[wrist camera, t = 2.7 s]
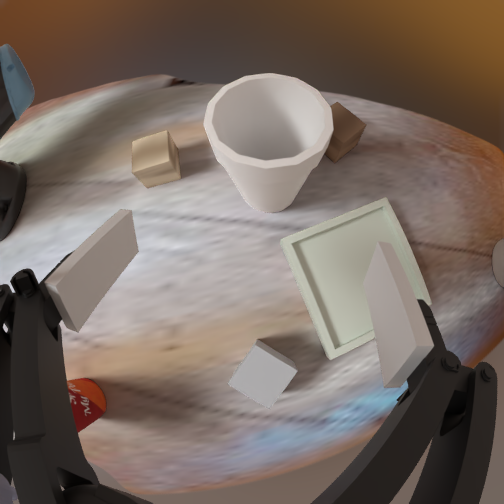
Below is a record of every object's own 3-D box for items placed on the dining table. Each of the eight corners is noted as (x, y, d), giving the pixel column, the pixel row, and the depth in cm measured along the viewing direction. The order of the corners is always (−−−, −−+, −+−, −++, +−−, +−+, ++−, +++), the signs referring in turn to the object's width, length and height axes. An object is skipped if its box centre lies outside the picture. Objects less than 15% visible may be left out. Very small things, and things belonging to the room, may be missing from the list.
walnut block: (308, 140, 32) (312, 118, 27) (330, 123, 32) (337, 101, 28) (334, 163, 31) (343, 143, 26) (356, 145, 31) (366, 124, 27)
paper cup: (117, 387, 27) (40, 421, 13) (109, 434, 25) (43, 476, 12) (71, 359, 28) (-8, 372, 14) (65, 405, 26) (-5, 429, 13)
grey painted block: (233, 372, 27) (227, 384, 22) (257, 338, 27) (255, 344, 23) (269, 394, 26) (269, 409, 22) (293, 361, 27) (297, 370, 22)
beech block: (146, 159, 33) (132, 141, 28) (178, 149, 32) (167, 129, 28) (147, 188, 32) (132, 172, 27) (181, 179, 32) (169, 161, 27)
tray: (279, 243, 29) (280, 239, 27) (379, 203, 29) (386, 196, 27) (326, 356, 26) (330, 360, 24) (423, 304, 27) (432, 303, 25)
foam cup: (323, 209, 30) (356, 146, 17) (246, 239, 29) (229, 189, 17) (289, 143, 32) (296, 63, 19) (217, 168, 31) (190, 94, 19)
